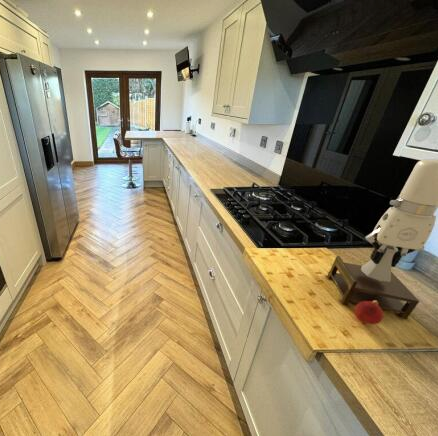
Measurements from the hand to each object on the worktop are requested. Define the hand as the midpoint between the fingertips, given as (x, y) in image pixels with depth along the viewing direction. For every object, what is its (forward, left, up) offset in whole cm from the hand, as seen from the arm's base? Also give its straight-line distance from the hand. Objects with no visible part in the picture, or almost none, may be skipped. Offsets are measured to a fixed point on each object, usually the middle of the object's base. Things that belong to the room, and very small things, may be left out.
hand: (382, 262), depth 71 cm
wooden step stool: (0, 0, -13) cm, 13 cm away
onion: (+5, +13, -13) cm, 19 cm away
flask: (0, 0, -5) cm, 5 cm away
